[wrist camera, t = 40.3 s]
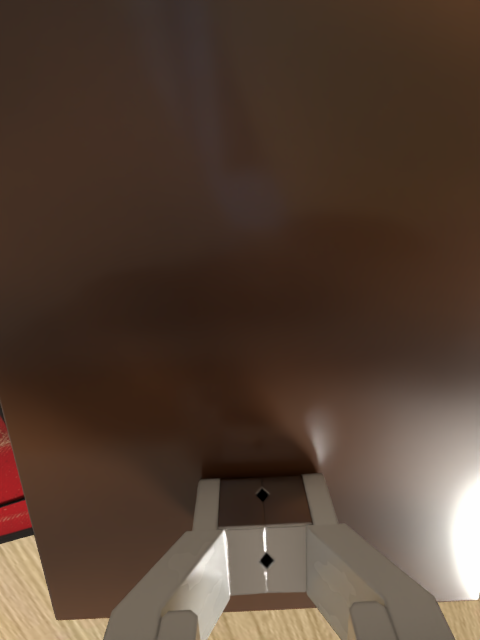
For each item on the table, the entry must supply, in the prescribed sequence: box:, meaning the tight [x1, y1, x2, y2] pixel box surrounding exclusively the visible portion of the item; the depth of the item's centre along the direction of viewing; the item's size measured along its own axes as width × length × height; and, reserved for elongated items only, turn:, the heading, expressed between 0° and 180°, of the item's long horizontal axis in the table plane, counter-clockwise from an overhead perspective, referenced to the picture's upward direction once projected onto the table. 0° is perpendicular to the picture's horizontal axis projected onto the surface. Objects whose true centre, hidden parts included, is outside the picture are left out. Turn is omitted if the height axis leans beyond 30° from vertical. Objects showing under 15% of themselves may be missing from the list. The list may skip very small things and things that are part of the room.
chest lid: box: [0, 0, 480, 620], centre depth 9 cm, size 16×12×1 cm
